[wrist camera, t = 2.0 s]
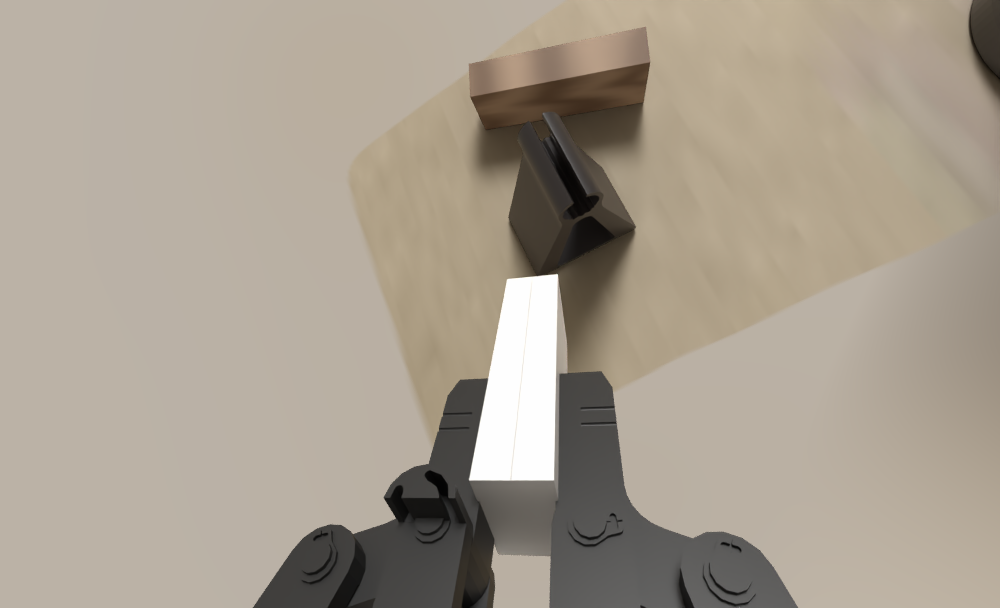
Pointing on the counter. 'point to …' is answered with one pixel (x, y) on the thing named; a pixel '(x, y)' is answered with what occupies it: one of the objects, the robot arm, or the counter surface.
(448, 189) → the counter surface
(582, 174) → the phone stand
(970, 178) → the counter surface
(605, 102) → the block
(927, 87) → the counter surface
